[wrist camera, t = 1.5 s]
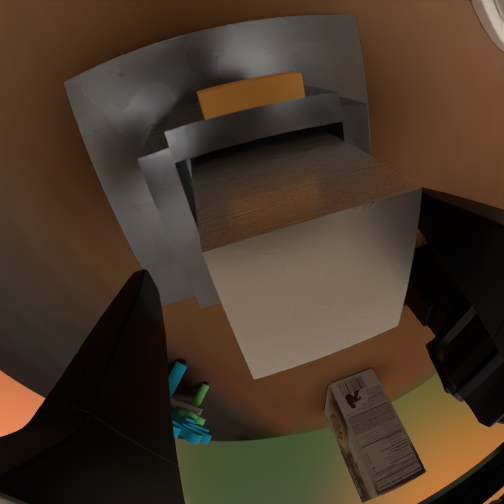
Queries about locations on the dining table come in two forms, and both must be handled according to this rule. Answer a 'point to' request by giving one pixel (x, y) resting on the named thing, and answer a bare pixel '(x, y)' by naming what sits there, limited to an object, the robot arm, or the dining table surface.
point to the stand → (209, 122)
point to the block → (304, 244)
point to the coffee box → (370, 435)
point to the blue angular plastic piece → (182, 418)
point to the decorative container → (491, 19)
